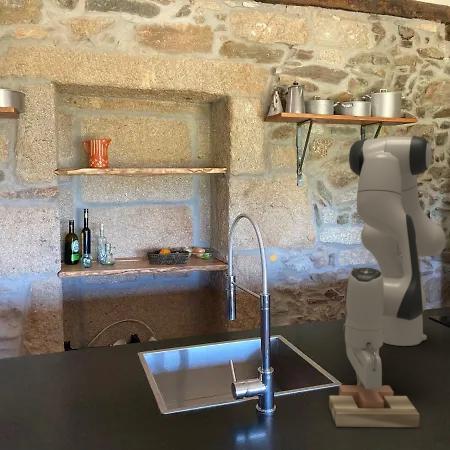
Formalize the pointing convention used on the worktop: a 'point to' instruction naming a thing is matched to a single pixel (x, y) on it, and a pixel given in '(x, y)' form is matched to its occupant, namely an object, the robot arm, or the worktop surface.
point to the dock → (374, 413)
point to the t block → (366, 395)
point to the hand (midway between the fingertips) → (362, 390)
